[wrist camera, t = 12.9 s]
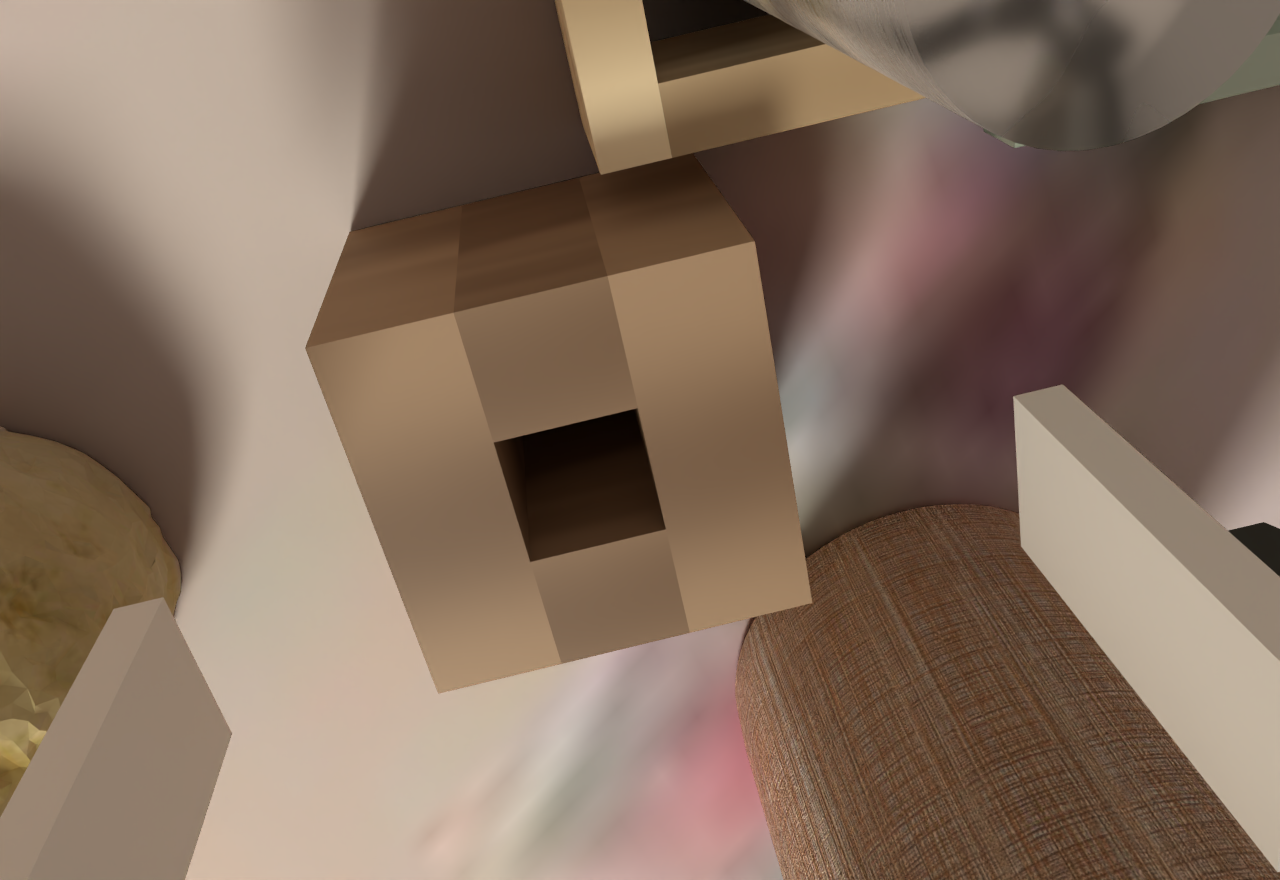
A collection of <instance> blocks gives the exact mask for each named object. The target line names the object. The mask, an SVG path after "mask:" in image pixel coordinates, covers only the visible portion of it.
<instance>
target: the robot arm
mask: <svg viewBox="0 0 1280 880" xmlns="http://www.w3.org/2000/svg"><path fill="white" fill-rule="evenodd" d="M1013 400H1014V420H1015V439H1016V459H1017V478H1018V497H1019V517H1020V536H1021V547H1022V548H1023V549H1024V551H1025V552H1026V553H1027V555H1028V556H1029V557H1030V558H1031V560H1032V561H1033V562H1034V563H1035V565H1036V566H1037V567H1038V569H1039V570H1040V571H1041V572H1042V574H1043V575H1044V576H1045V577H1046V579H1047V580H1048V581H1049V582H1050V584H1051V585H1052V586H1053V588H1054V589H1055V590H1056V591H1057V593H1058V594H1059V595H1060V596H1061V598H1062V599H1063V600H1064V602H1065V603H1066V604H1067V605H1068V607H1069V608H1070V609H1071V610H1072V612H1073V613H1074V614H1075V616H1076V617H1077V618H1078V619H1079V621H1080V622H1081V623H1082V624H1083V626H1084V627H1085V628H1086V630H1087V631H1088V632H1089V633H1090V635H1091V636H1092V637H1093V638H1094V640H1095V641H1096V642H1097V644H1098V645H1099V646H1100V647H1101V649H1102V650H1103V651H1104V652H1105V654H1106V655H1107V656H1108V657H1109V659H1110V660H1111V661H1112V663H1113V664H1114V665H1115V666H1116V668H1117V669H1118V670H1119V671H1120V673H1121V674H1122V675H1123V677H1124V678H1125V679H1126V680H1127V682H1128V683H1129V684H1130V685H1131V687H1132V688H1133V689H1134V691H1135V692H1136V693H1137V694H1138V696H1139V697H1140V698H1141V699H1142V701H1143V702H1144V703H1145V705H1146V706H1147V707H1148V708H1149V710H1150V711H1151V712H1152V713H1153V715H1154V716H1155V717H1156V719H1157V720H1158V721H1159V722H1160V724H1161V725H1162V726H1163V727H1164V729H1165V730H1166V731H1167V732H1168V734H1169V735H1170V736H1171V738H1172V739H1173V740H1174V741H1175V743H1176V744H1177V745H1178V746H1179V748H1180V749H1181V750H1182V752H1183V753H1184V754H1185V755H1186V757H1187V758H1188V759H1189V760H1190V762H1191V763H1192V764H1193V766H1194V767H1195V768H1196V769H1197V771H1198V772H1199V773H1200V774H1201V776H1202V777H1203V778H1204V780H1205V781H1206V782H1207V783H1208V785H1209V786H1210V787H1211V788H1212V790H1213V791H1214V792H1215V794H1216V795H1217V796H1218V797H1219V799H1220V800H1221V801H1222V802H1223V804H1224V805H1225V806H1226V807H1227V809H1228V810H1229V811H1230V813H1231V814H1232V815H1233V816H1234V818H1235V819H1236V820H1237V821H1238V823H1239V824H1240V825H1241V827H1242V828H1243V829H1244V830H1245V832H1246V833H1247V834H1248V835H1249V837H1250V838H1251V839H1252V841H1253V842H1254V843H1255V844H1256V846H1257V847H1258V848H1259V849H1260V851H1261V852H1262V853H1263V855H1264V856H1265V857H1266V858H1267V860H1268V861H1269V862H1270V863H1271V865H1272V866H1273V867H1274V869H1275V870H1276V871H1277V872H1280V529H1279V528H1276V527H1274V526H1272V525H1269V524H1267V523H1264V522H1263V523H1259V524H1254V525H1250V526H1246V527H1242V528H1238V529H1233V530H1229V531H1227V530H1226V529H1225V528H1224V527H1223V526H1222V525H1221V524H1220V523H1218V522H1217V521H1216V520H1215V519H1214V518H1213V517H1212V516H1211V515H1209V514H1208V513H1207V512H1206V511H1205V510H1204V509H1203V508H1201V507H1200V506H1199V505H1198V504H1197V503H1196V502H1195V501H1194V500H1192V499H1191V498H1190V497H1189V496H1188V495H1187V494H1186V493H1185V492H1183V491H1182V490H1181V489H1180V488H1179V487H1178V486H1177V485H1176V484H1174V483H1173V482H1172V481H1171V480H1170V479H1169V478H1168V477H1167V476H1165V475H1164V474H1163V473H1162V472H1161V471H1160V470H1159V469H1157V468H1156V467H1155V466H1154V465H1153V464H1152V463H1151V462H1150V461H1148V460H1147V459H1146V458H1145V457H1144V456H1143V455H1142V454H1141V453H1139V452H1138V451H1137V450H1136V449H1135V448H1134V447H1133V446H1132V445H1130V444H1129V443H1128V442H1127V441H1126V440H1125V439H1124V438H1123V437H1121V436H1120V435H1119V434H1118V433H1117V432H1116V431H1115V430H1113V429H1112V428H1111V427H1110V426H1109V425H1108V424H1107V423H1106V422H1104V421H1103V420H1102V419H1101V418H1100V417H1099V416H1098V415H1097V414H1095V413H1094V412H1093V411H1092V410H1091V409H1090V408H1089V407H1088V406H1086V405H1085V404H1084V403H1083V402H1082V401H1081V400H1080V399H1079V398H1077V397H1076V396H1075V395H1074V394H1073V393H1072V392H1071V391H1070V390H1068V389H1067V388H1066V387H1065V386H1064V385H1063V384H1062V385H1058V386H1054V387H1050V388H1046V389H1041V390H1037V391H1033V392H1029V393H1024V394H1020V395H1016V396H1013ZM231 735H232V733H231V731H230V729H229V727H228V725H227V723H226V721H225V719H224V717H223V715H222V713H221V711H220V709H219V707H218V705H217V703H216V701H215V699H214V697H213V695H212V693H211V691H210V689H209V687H208V685H207V683H206V681H205V679H204V677H203V675H202V673H201V671H200V669H199V667H198V665H197V663H196V661H195V659H194V657H193V655H192V653H191V651H190V649H189V647H188V645H187V643H186V641H185V639H184V637H183V635H182V633H181V631H180V629H179V627H178V625H177V623H176V621H175V619H174V617H173V615H172V613H171V611H170V609H169V607H168V605H167V603H166V601H165V599H164V597H162V598H158V599H153V600H149V601H145V602H141V603H137V604H132V605H128V606H124V607H120V608H115V609H113V611H112V613H111V615H110V616H109V618H108V620H107V622H106V624H105V626H104V627H103V629H102V631H101V633H100V635H99V637H98V638H97V640H96V642H95V644H94V646H93V648H92V650H91V651H90V653H89V655H88V657H87V659H86V661H85V662H84V664H83V666H82V668H81V670H80V672H79V673H78V675H77V677H76V679H75V681H74V683H73V685H72V686H71V688H70V690H69V692H68V694H67V696H66V697H65V699H64V701H63V703H62V705H61V707H60V708H59V710H58V712H57V714H56V716H55V718H54V720H53V721H52V723H51V725H50V727H49V729H48V731H47V732H46V734H45V736H44V738H43V740H42V742H41V743H40V745H39V747H38V749H37V751H36V753H35V754H34V756H33V758H32V760H31V762H30V764H29V766H28V767H27V769H26V771H25V773H24V775H23V777H22V778H21V780H20V782H19V784H18V786H17V788H16V789H15V791H14V793H13V795H12V797H11V799H10V801H9V802H8V804H7V806H6V808H5V810H4V812H3V813H2V815H1V817H0V880H185V877H186V874H187V871H188V868H189V865H190V862H191V859H192V856H193V853H194V849H195V846H196V843H197V840H198V837H199V834H200V831H201V828H202V825H203V822H204V819H205V815H206V812H207V809H208V806H209V803H210V800H211V797H212V794H213V791H214V788H215V784H216V781H217V778H218V775H219V772H220V769H221V766H222V763H223V760H224V757H225V753H226V750H227V747H228V744H229V741H230V738H231Z"/></svg>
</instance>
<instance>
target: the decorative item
mask: <svg viewBox="0 0 1280 880" xmlns="http://www.w3.org/2000/svg"><path fill="white" fill-rule="evenodd" d="M180 592H181V572H180V567H179V561H178V559H177V558H176V556H175V555H174V553H173V552H172V550H171V549H170V547H169V546H168V544H167V543H166V541H165V540H164V538H163V536H162V533H161V530H160V527H159V526H158V525H157V524H156V522H155V521H154V520H153V519H152V518H151V511H150V508H149V507H148V506H147V505H146V504H145V503H144V502H143V501H142V500H141V499H140V498H139V497H138V496H137V495H136V494H135V493H134V492H133V491H132V490H130V489H129V488H128V487H127V486H126V485H125V484H124V483H123V482H122V481H121V480H120V479H119V478H118V477H116V476H115V475H114V474H113V473H111V472H110V471H109V470H107V469H106V468H105V467H103V466H102V465H101V464H99V463H98V462H96V461H95V460H93V459H92V458H90V457H89V456H87V455H86V454H84V453H83V452H80V451H78V450H75V449H73V448H70V447H68V446H66V445H63V444H61V443H58V442H56V441H52V440H48V439H44V438H40V437H35V436H31V435H26V434H20V433H14V432H9V431H7V430H6V429H5V428H3V427H0V817H1V815H2V813H3V812H4V810H5V808H6V806H7V804H8V802H9V801H10V799H11V797H12V795H13V793H14V791H15V789H16V788H17V786H18V784H19V782H20V780H21V778H22V777H23V775H24V773H25V771H26V769H27V767H28V766H29V764H30V762H31V760H32V758H33V756H34V754H35V753H36V751H37V749H38V747H39V745H40V743H41V742H42V740H43V738H44V736H45V734H46V732H47V731H48V729H49V727H50V725H51V723H52V721H53V720H54V718H55V716H56V714H57V712H58V710H59V708H60V707H61V705H62V703H63V701H64V699H65V697H66V696H67V694H68V692H69V690H70V688H71V686H72V685H73V683H74V681H75V679H76V677H77V675H78V673H79V672H80V670H81V668H82V666H83V664H84V662H85V661H86V659H87V657H88V655H89V653H90V651H91V650H92V648H93V646H94V644H95V642H96V640H97V638H98V637H99V635H100V633H101V631H102V629H103V627H104V626H105V624H106V622H107V620H108V618H109V616H110V615H111V613H112V611H113V609H115V608H120V607H124V606H128V605H132V604H137V603H141V602H145V601H149V600H153V599H158V598H162V597H164V599H165V601H166V603H167V605H168V607H169V609H170V611H171V613H172V615H173V616H174V611H175V607H176V603H177V600H178V597H179V595H180Z"/></svg>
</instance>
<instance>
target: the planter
mask: <svg viewBox="0 0 1280 880" xmlns="http://www.w3.org/2000/svg"><path fill="white" fill-rule="evenodd" d="M806 566H807V572H808V579H809V585H810V591H811V597H812V603H810V604H806V605H802V606H798V607H794V608H790V609H785V610H781V611H777V612H773V613H769V614H765V615H761V616H757V617H755V619H754V621H753V623H752V625H751V627H750V629H749V631H748V633H747V635H746V638H745V640H744V643H743V646H742V648H741V652H740V656H739V660H738V666H737V672H736V683H735V696H736V704H737V710H738V715H739V719H740V724H741V729H742V733H743V738H744V743H745V747H746V752H747V755H748V759H749V762H750V766H751V769H752V773H753V776H754V779H755V783H756V786H757V790H758V793H759V797H760V800H761V804H762V807H763V810H764V814H765V817H766V821H767V824H768V828H769V831H770V835H771V838H772V841H773V845H774V848H775V852H776V855H777V859H778V862H779V865H780V869H781V872H782V876H783V879H784V880H1280V872H1277V871H1276V870H1275V869H1274V867H1273V866H1272V865H1271V863H1270V862H1269V861H1268V860H1267V858H1266V857H1265V856H1264V855H1263V853H1262V852H1261V851H1260V849H1259V848H1258V847H1257V846H1256V844H1255V843H1254V842H1253V841H1252V839H1251V838H1250V837H1249V835H1248V834H1247V833H1246V832H1245V830H1244V829H1243V828H1242V827H1241V825H1240V824H1239V823H1238V821H1237V820H1236V819H1235V818H1234V816H1233V815H1232V814H1231V813H1230V811H1229V810H1228V809H1227V807H1226V806H1225V805H1224V804H1223V802H1222V801H1221V800H1220V799H1219V797H1218V796H1217V795H1216V794H1215V792H1214V791H1213V790H1212V788H1211V787H1210V786H1209V785H1208V783H1207V782H1206V781H1205V780H1204V778H1203V777H1202V776H1201V774H1200V773H1199V772H1198V771H1197V769H1196V768H1195V767H1194V766H1193V764H1192V763H1191V762H1190V760H1189V759H1188V758H1187V757H1186V755H1185V754H1184V753H1183V752H1182V750H1181V749H1180V748H1179V746H1178V745H1177V744H1176V743H1175V741H1174V740H1173V739H1172V738H1171V736H1170V735H1169V734H1168V732H1167V731H1166V730H1165V729H1164V727H1163V726H1162V725H1161V724H1160V722H1159V721H1158V720H1157V719H1156V717H1155V716H1154V715H1153V713H1152V712H1151V711H1150V710H1149V708H1148V707H1147V706H1146V705H1145V703H1144V702H1143V701H1142V699H1141V698H1140V697H1139V696H1138V694H1137V693H1136V692H1135V691H1134V689H1133V688H1132V687H1131V685H1130V684H1129V683H1128V682H1127V680H1126V679H1125V678H1124V677H1123V675H1122V674H1121V673H1120V671H1119V670H1118V669H1117V668H1116V666H1115V665H1114V664H1113V663H1112V661H1111V660H1110V659H1109V657H1108V656H1107V655H1106V654H1105V652H1104V651H1103V650H1102V649H1101V647H1100V646H1099V645H1098V644H1097V642H1096V641H1095V640H1094V638H1093V637H1092V636H1091V635H1090V633H1089V632H1088V631H1087V630H1086V628H1085V627H1084V626H1083V624H1082V623H1081V622H1080V621H1079V619H1078V618H1077V617H1076V616H1075V614H1074V613H1073V612H1072V610H1071V609H1070V608H1069V607H1068V605H1067V604H1066V603H1065V602H1064V600H1063V599H1062V598H1061V596H1060V595H1059V594H1058V593H1057V591H1056V590H1055V589H1054V588H1053V586H1052V585H1051V584H1050V582H1049V581H1048V580H1047V579H1046V577H1045V576H1044V575H1043V574H1042V572H1041V571H1040V570H1039V569H1038V567H1037V566H1036V565H1035V563H1034V562H1033V561H1032V560H1031V558H1030V557H1029V556H1028V555H1027V553H1026V552H1025V551H1024V549H1023V548H1022V547H1021V536H1020V517H1019V513H1016V512H1012V511H1009V510H1005V509H1001V508H996V507H990V506H983V505H971V504H951V505H936V506H927V507H921V508H916V509H911V510H907V511H903V512H899V513H895V514H892V515H889V516H885V517H882V518H879V519H877V520H874V521H871V522H869V523H866V524H864V525H862V526H859V527H857V528H855V529H853V530H851V531H849V532H847V533H845V534H844V535H842V536H840V537H838V538H836V539H835V540H833V541H831V542H830V543H828V544H827V545H825V546H823V547H822V548H820V549H819V550H818V551H816V552H815V553H813V554H812V555H811V556H809V557H808V558H807V559H806Z"/></svg>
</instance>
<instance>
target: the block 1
mask: <svg viewBox="0 0 1280 880" xmlns="http://www.w3.org/2000/svg"><path fill="white" fill-rule="evenodd" d="M554 1H555V5H556V10H557V14H558V19H559V23H560V28H561V32H562V36H563V41H564V45H565V50H566V54H567V58H568V63H569V67H570V72H571V76H572V81H573V85H574V89H575V94H576V98H577V103H578V107H579V111H580V116H581V120H582V125H583V127H584V130H585V133H586V136H587V138H588V141H589V144H590V147H591V149H592V152H593V155H594V158H595V160H596V163H597V166H598V169H599V172H600V174H601V175H602V174H606V173H611V172H615V171H619V170H623V169H627V168H632V167H636V166H640V165H644V164H649V163H653V162H657V161H661V160H665V159H670V158H674V157H678V156H682V155H687V154H691V153H695V152H699V151H703V150H708V149H712V148H716V147H720V146H725V145H729V144H733V143H737V142H741V141H746V140H750V139H754V138H758V137H762V136H767V135H771V134H775V133H779V132H784V131H788V130H792V129H796V128H800V127H805V126H809V125H813V124H817V123H822V122H826V121H830V120H834V119H838V118H843V117H847V116H851V115H855V114H859V113H864V112H868V111H872V110H876V109H881V108H885V107H889V106H893V105H897V104H902V103H906V102H910V101H914V100H919V99H923V98H926V97H924V96H922V95H920V94H918V93H917V92H915V91H913V90H911V89H909V88H907V87H905V86H903V85H902V84H900V83H898V82H896V81H894V80H892V79H890V78H888V77H887V76H885V75H883V74H881V73H879V72H877V71H875V70H873V69H872V68H870V67H868V66H866V65H864V64H862V63H860V62H858V61H857V60H855V59H853V58H851V57H849V56H847V55H845V54H843V53H842V52H840V51H838V50H836V49H834V48H832V47H830V46H829V45H827V44H825V43H823V42H821V41H819V40H817V39H815V38H814V37H812V36H810V35H808V34H806V33H804V32H802V31H800V30H799V29H797V28H795V27H793V26H791V25H789V24H787V23H785V22H784V21H782V20H780V19H778V18H776V17H774V16H772V15H770V14H768V15H764V16H760V17H756V18H751V19H747V20H743V21H739V22H734V23H730V24H726V25H722V26H717V27H713V28H709V29H705V30H701V31H696V32H692V33H688V34H684V35H679V36H675V37H671V38H667V39H662V40H658V41H654V42H650V39H649V34H648V29H647V23H646V18H645V13H644V8H643V2H642V0H554Z"/></svg>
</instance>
